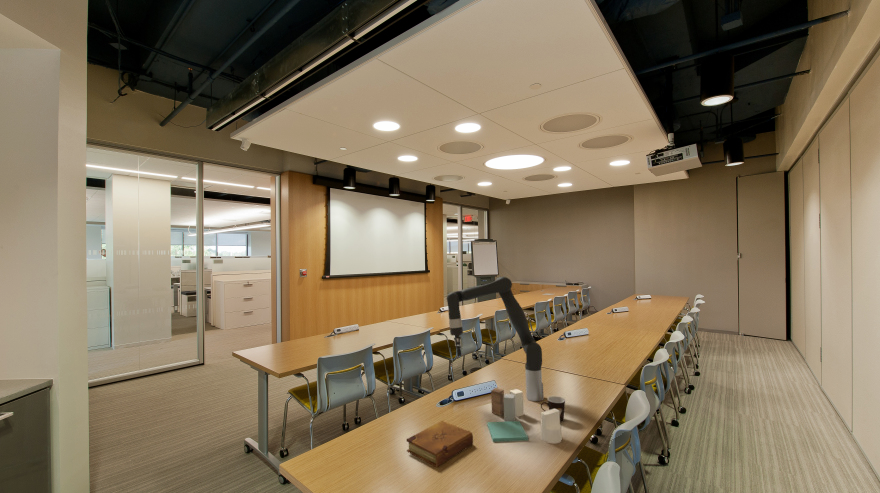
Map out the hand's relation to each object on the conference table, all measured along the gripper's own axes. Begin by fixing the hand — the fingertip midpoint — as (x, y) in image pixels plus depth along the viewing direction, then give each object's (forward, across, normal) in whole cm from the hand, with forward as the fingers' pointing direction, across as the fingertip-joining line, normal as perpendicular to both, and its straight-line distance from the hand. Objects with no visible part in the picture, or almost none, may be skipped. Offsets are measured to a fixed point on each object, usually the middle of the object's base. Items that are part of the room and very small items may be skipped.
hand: (459, 354), depth 204 cm
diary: (+30, -48, +13) cm, 58 cm away
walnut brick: (+30, -13, -17) cm, 37 cm away
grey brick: (+31, -22, -22) cm, 44 cm away
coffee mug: (+33, -22, -44) cm, 59 cm away
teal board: (+31, -35, -18) cm, 50 cm away
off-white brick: (+31, -16, -27) cm, 44 cm away
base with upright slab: (+33, -41, -37) cm, 65 cm away
